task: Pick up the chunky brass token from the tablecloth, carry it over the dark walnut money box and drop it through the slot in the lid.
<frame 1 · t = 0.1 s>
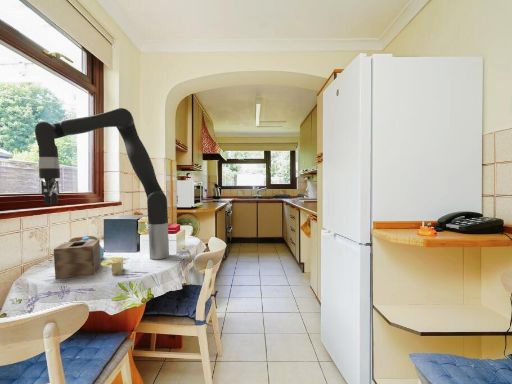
hand: (51, 204, 129), 29 cm above the table, tool pointing down, fingers open, 8 cm apart
sugar bowl: (86, 261, 142), on the table
money box: (79, 271, 125), on the table
tin: (83, 251, 161), on the table
brass token: (117, 271, 124), on the table
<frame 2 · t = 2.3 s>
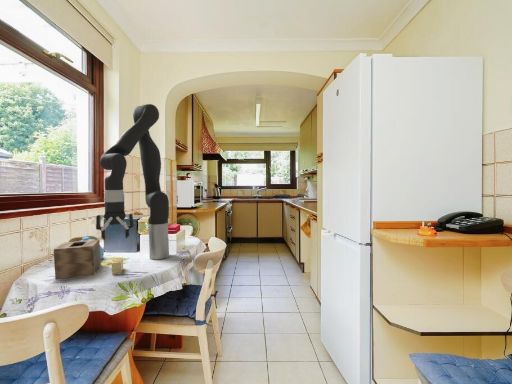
hand: (115, 238, 123), 14 cm above the table, tool pointing down, fingers open, 8 cm apart
nothing on the table moved.
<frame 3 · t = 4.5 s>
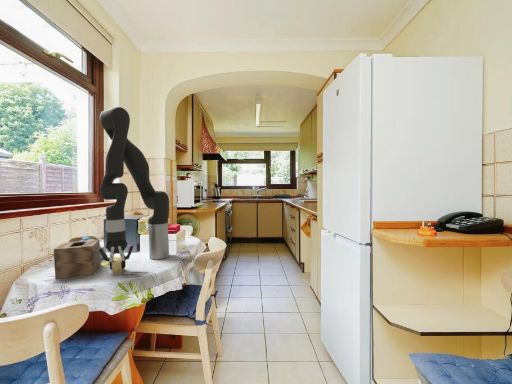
hand: (117, 269, 124), 1 cm above the table, tool pointing down, fingers closed on brass token, 3 cm apart
brass token: (117, 271, 124), on the table, touching gripper
everything else where it was.
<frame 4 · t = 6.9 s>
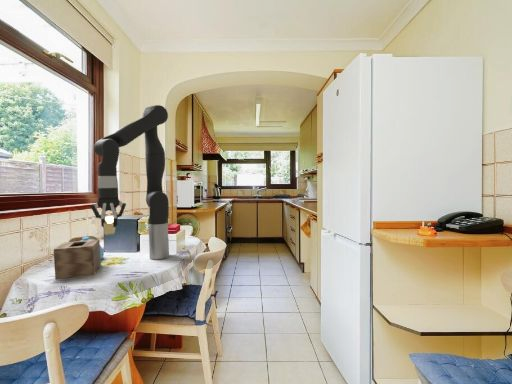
hand: (109, 227, 123), 19 cm above the table, tool pointing down, fingers closed on brass token, 3 cm apart
brass token: (110, 230, 123), point 18 cm above the table, tilted 16°, touching gripper
everything else where it was.
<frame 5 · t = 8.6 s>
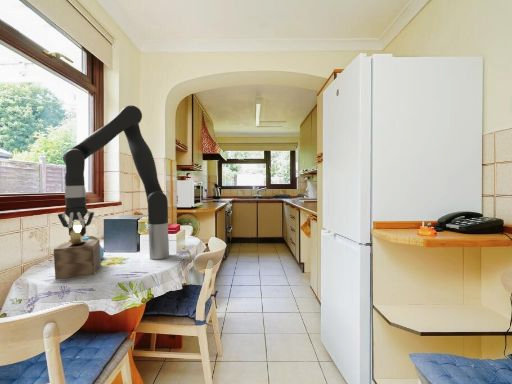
hand: (77, 235, 124), 16 cm above the table, tool pointing down, fingers closed on brass token, 3 cm apart
brass token: (78, 239, 125), point 14 cm above the table, tilted 16°, touching gripper
everything else where it was.
when the fingers open (15 cm above the table, at t = 9.5 s): brass token drops 13 cm, resting in money box.
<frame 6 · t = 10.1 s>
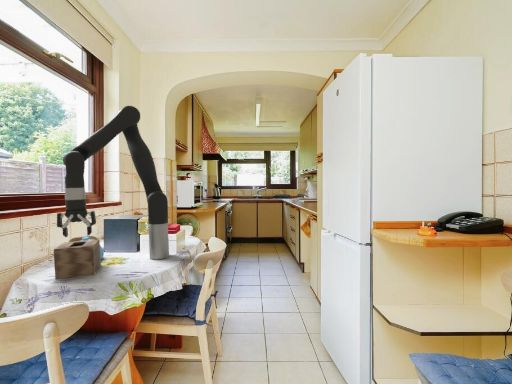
hand: (77, 235, 124), 16 cm above the table, tool pointing down, fingers open, 8 cm apart
brass token: (80, 271, 126), resting in money box
everything else where it was.
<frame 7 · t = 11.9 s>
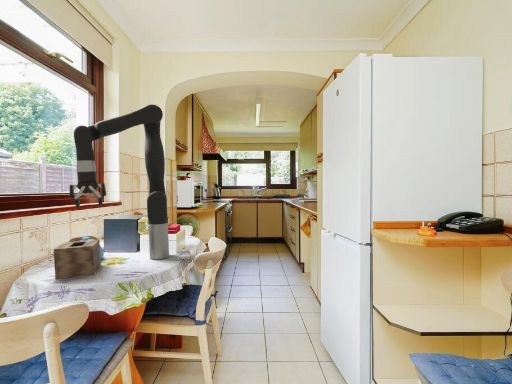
hand: (89, 206, 131), 27 cm above the table, tool pointing down, fingers open, 8 cm apart
nothing on the table moved.
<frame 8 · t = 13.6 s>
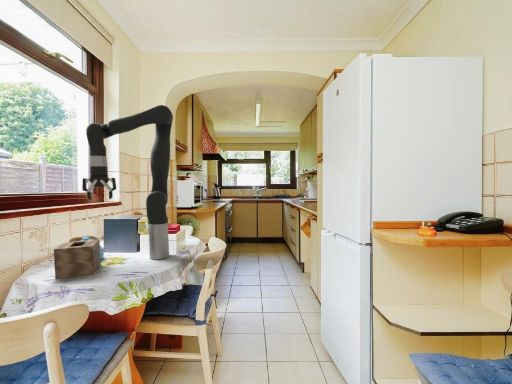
hand: (100, 199, 139), 30 cm above the table, tool pointing down, fingers open, 8 cm apart
nothing on the table moved.
at the end: brass token inside the target area on the money box (0.9 cm from its centre), point 0.0 cm above the money box's base; the gripper is holding nothing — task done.
